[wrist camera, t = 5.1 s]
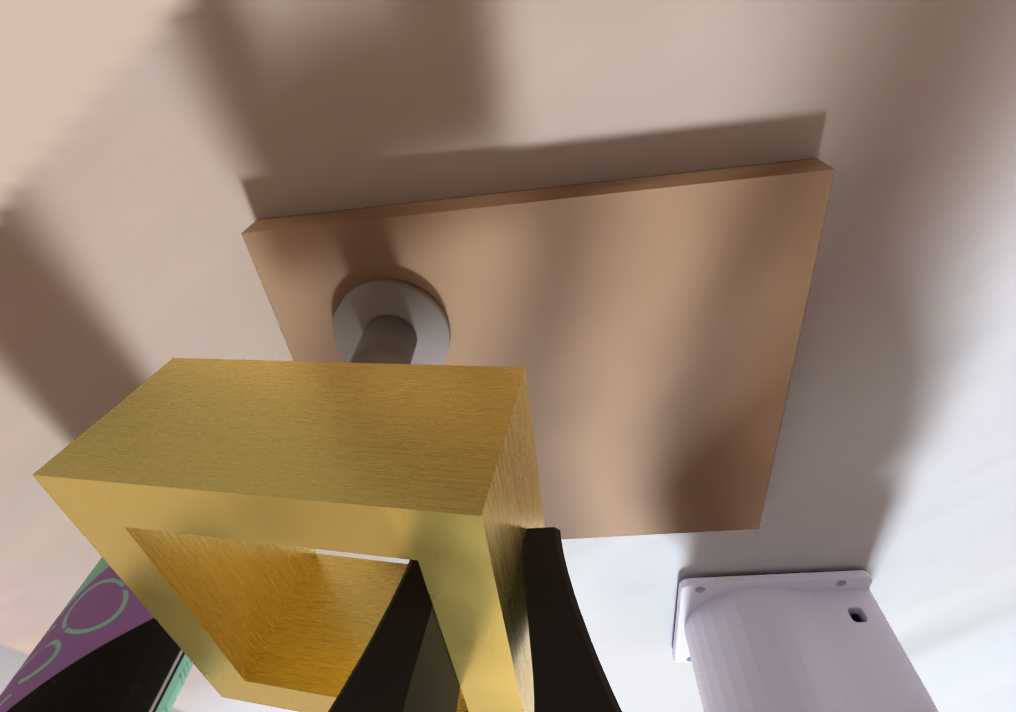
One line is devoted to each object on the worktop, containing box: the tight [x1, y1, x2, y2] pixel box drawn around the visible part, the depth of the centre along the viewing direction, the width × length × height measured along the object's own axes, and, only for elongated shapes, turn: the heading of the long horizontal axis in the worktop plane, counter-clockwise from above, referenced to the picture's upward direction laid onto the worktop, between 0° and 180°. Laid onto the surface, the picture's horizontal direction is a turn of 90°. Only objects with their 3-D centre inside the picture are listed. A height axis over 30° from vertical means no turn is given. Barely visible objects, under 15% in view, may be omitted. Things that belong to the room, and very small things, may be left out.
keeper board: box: [241, 158, 835, 539], centre depth 19 cm, size 18×16×6 cm
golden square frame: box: [33, 358, 545, 712], centre depth 12 cm, size 8×8×4 cm
